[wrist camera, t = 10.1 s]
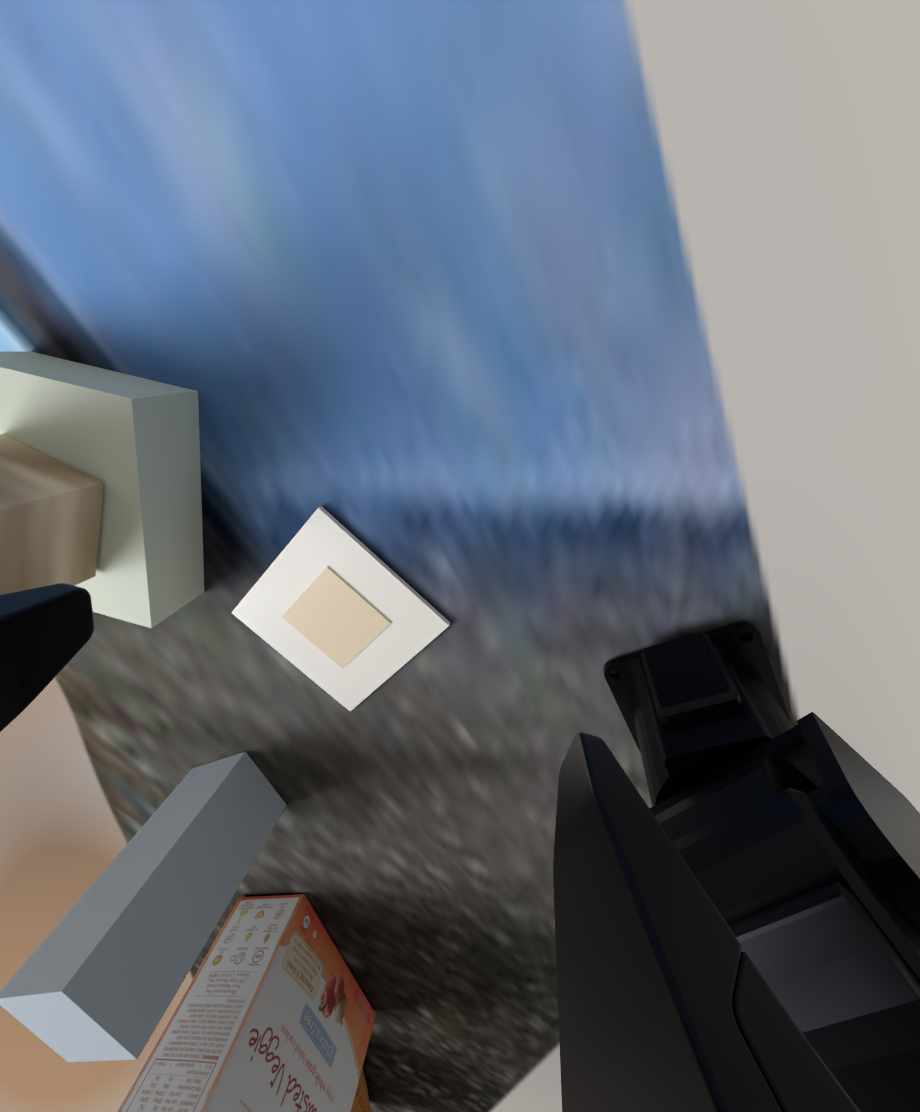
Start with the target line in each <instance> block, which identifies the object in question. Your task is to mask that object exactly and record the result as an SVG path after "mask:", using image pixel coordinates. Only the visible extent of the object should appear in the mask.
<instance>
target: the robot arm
mask: <svg viewBox="0 0 920 1112" xmlns="http://www.w3.org/2000/svg"><path fill="white" fill-rule="evenodd" d="M93 631H94V618H93V609H92V601H91V595H90V593H89V592H88V590H86V589H84V588H81V587H77V586H74V585H71V584H66V583H59V584H54V585H49V586H43V587H38V588H33V589H28V590H23V591H18V592H12V593H7V594H2V595H0V732H1V731H2V730H3V729H4V728H5V727H6V726H7V725H8V724H9V723H10V722H11V721H12V720H13V719H15V718H16V717H17V716H18V715H19V714H20V713H21V712H22V711H23V710H24V709H25V708H26V707H27V706H28V705H29V704H30V703H31V702H32V701H33V700H34V699H35V698H36V697H37V696H38V694H39V693H40V692H41V691H42V690H43V689H44V688H45V687H46V686H47V685H48V684H49V683H50V681H52V679H53V678H54V677H55V676H56V675H57V674H58V673H59V672H60V671H61V670H62V669H63V667H64V666H65V665H66V664H67V663H68V662H69V661H70V660H71V659H72V658H73V657H74V656H75V654H76V653H77V652H78V651H79V650H80V649H81V648H82V647H83V646H84V645H85V644H86V643H87V641H88V640H89V639H90V637H91V636H92V634H93ZM743 632H750V633H749V634H748V635H747V636H745V637H740V635H741V633H743ZM603 669H604V675H605V679H606V681H607V683H608V685H609V687H610V689H611V691H612V693H613V696H614V698H615V700H616V702H617V704H618V706H619V708H620V710H621V712H622V715H623V717H624V719H625V721H626V723H627V725H628V727H629V729H630V732H631V734H632V736H633V738H634V740H635V742H636V744H637V746H638V749H639V751H640V753H641V756H642V761H643V766H644V770H645V775H646V780H647V784H648V789H649V794H650V798H651V803H652V807H651V808H650V809H649V807H648V806H647V804H646V803H645V801H644V800H643V798H642V797H641V796H640V794H639V793H638V791H637V790H636V788H635V787H634V785H633V784H632V782H631V781H630V779H629V778H628V776H627V775H626V773H625V772H624V770H623V769H622V767H621V766H620V764H619V763H618V761H617V760H616V758H615V757H614V756H613V754H612V753H611V751H610V750H609V748H608V747H607V745H606V744H605V742H604V741H603V740H602V739H601V738H599V737H596V736H593V735H589V734H586V733H578V734H577V735H576V736H575V738H574V740H573V742H572V744H571V746H570V748H569V750H568V752H567V754H566V756H565V758H564V761H563V763H562V765H561V769H560V774H559V785H558V800H557V814H556V829H555V844H554V861H553V882H554V908H555V934H556V959H557V985H558V1011H559V1036H560V1061H561V1085H562V1112H920V813H919V812H918V811H917V810H916V809H915V808H914V806H913V805H912V804H911V803H910V802H909V801H908V799H907V798H906V797H905V796H904V795H903V794H902V793H900V792H899V791H898V790H897V789H896V788H895V787H894V786H893V785H892V784H891V783H890V782H888V781H887V780H886V779H885V778H884V777H883V776H882V775H881V774H880V773H879V772H878V771H877V770H875V769H874V768H873V767H872V766H871V765H870V764H869V763H868V762H867V761H866V760H865V759H863V758H862V757H861V756H860V755H859V754H858V753H857V752H856V751H855V750H854V749H853V748H851V747H850V746H849V745H848V744H847V743H846V742H845V741H843V739H842V738H841V737H840V736H838V735H837V734H836V733H835V732H834V731H833V730H832V729H831V728H830V727H829V726H828V725H826V724H825V723H824V722H823V721H822V720H821V719H820V718H819V717H818V716H817V715H815V714H814V713H813V712H812V713H810V714H808V715H806V716H804V717H803V718H801V719H799V720H797V723H798V725H796V726H795V727H793V726H792V724H791V722H790V719H789V716H788V714H787V711H786V708H785V705H784V702H783V699H782V696H781V694H780V691H779V688H778V685H777V682H776V679H775V676H774V673H773V671H772V668H771V665H770V662H769V659H768V656H767V653H766V651H765V648H764V645H763V642H762V639H761V636H760V633H759V632H758V630H757V629H756V627H755V626H754V625H753V624H752V623H750V622H745V621H744V622H738V623H735V624H731V625H728V626H725V627H721V628H718V629H715V630H711V631H708V632H705V633H697V634H693V635H690V636H686V637H683V638H680V639H676V640H673V641H670V642H666V643H663V644H660V645H656V646H653V647H650V648H646V649H644V650H643V651H641V652H637V653H634V654H631V655H627V656H624V657H620V658H617V659H614V660H611V661H609V662H607V663H606V664H605V665H604V668H603ZM612 670H619V671H620V672H619V673H617V674H613V673H611V671H612Z"/></svg>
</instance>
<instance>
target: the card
mask: <svg viewBox="0 0 920 1112" xmlns="http://www.w3.org/2000/svg"><path fill="white" fill-rule="evenodd" d="M232 614H233V615H235V616H236V617H237V618H238V619H239V620H241V621H242V622H243V623H244V624H245V625H247V626H248V627H249V628H250V629H251V630H253V631H254V632H255V633H256V634H257V635H259V636H260V637H261V638H262V639H263V640H265V641H266V642H267V643H268V644H269V645H271V646H272V647H273V648H274V649H275V650H277V651H278V652H279V653H280V654H281V655H283V656H284V657H285V658H286V659H288V660H289V661H290V662H291V663H292V664H294V665H295V666H296V667H297V668H298V669H300V670H301V671H302V672H303V673H304V674H306V675H307V676H308V677H309V678H310V679H312V680H313V681H314V682H315V683H316V684H318V685H319V686H320V687H321V688H322V689H324V690H325V691H326V692H327V693H328V694H330V695H331V696H332V697H333V698H334V699H336V700H337V701H338V702H339V703H340V704H342V705H343V706H344V707H345V708H346V709H348V710H349V711H351V710H353V709H354V708H355V707H356V706H357V705H358V704H360V703H361V702H362V701H363V700H364V699H365V698H367V697H368V696H369V695H370V694H371V693H372V692H373V691H375V690H376V689H377V688H378V687H379V686H380V685H382V684H383V683H384V682H385V681H386V680H387V679H388V678H390V677H391V676H392V675H393V674H394V673H395V672H397V671H398V670H399V669H400V668H401V667H402V666H403V665H405V664H406V663H407V662H408V661H409V660H410V659H412V658H413V657H414V656H415V655H416V654H417V653H418V652H420V651H421V650H422V649H423V648H424V647H425V646H427V645H428V644H429V643H430V642H431V641H432V640H433V639H435V638H436V637H437V636H438V635H439V634H440V633H442V632H443V631H444V630H445V629H446V628H447V627H449V625H450V622H449V621H448V620H447V619H446V618H445V617H444V616H443V615H442V614H440V613H439V612H438V611H437V610H436V609H435V608H434V607H433V606H432V605H430V604H429V603H428V602H427V601H426V600H425V599H424V598H423V597H422V596H420V595H419V594H418V593H417V592H416V591H415V590H414V589H413V588H412V587H411V586H409V585H408V584H407V583H406V582H405V581H404V580H403V579H402V578H401V577H399V576H398V575H397V574H396V573H395V572H394V571H393V570H392V569H391V568H389V567H388V566H387V565H386V564H385V563H384V562H383V561H382V560H381V559H380V558H378V557H377V556H376V555H375V554H374V553H373V552H372V551H371V550H370V549H368V548H367V547H366V546H365V545H364V544H363V543H362V542H361V541H360V540H358V539H357V538H356V537H355V536H354V535H353V534H352V533H351V532H350V531H349V530H347V529H346V528H345V527H344V526H343V525H342V524H341V523H340V522H339V521H337V520H336V519H335V518H334V517H333V516H332V515H331V514H330V513H329V512H327V511H326V510H325V509H324V508H323V507H322V506H320V507H319V508H318V509H317V510H316V511H315V512H314V514H313V515H312V516H311V517H310V518H309V520H308V521H307V522H306V523H305V524H304V526H303V527H302V528H301V529H300V531H299V532H298V533H297V534H296V535H295V537H294V538H293V539H292V540H291V541H290V543H289V544H288V545H287V546H286V547H285V549H284V550H283V551H282V552H281V553H280V555H279V556H278V557H277V558H276V559H275V561H274V562H273V563H272V564H271V566H270V567H269V568H268V569H267V570H266V572H265V573H264V574H263V575H262V576H261V578H260V579H259V580H258V581H257V582H256V584H255V585H254V586H253V587H252V588H251V590H250V591H249V592H248V593H247V595H246V596H245V597H244V598H243V599H242V601H241V602H240V603H239V604H238V605H237V607H236V608H235V609H234V610H233V611H232Z"/></svg>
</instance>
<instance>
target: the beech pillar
mask: <svg viewBox="0 0 920 1112" xmlns="http://www.w3.org/2000/svg"><path fill="white" fill-rule="evenodd" d="M103 485H104V483H103V482H101V481H99V480H97V479H95V478H93V477H91V476H88V475H86V474H84V473H82V472H80V471H78V470H76V469H74V468H72V467H70V466H68V465H66V464H64V463H62V462H60V461H58V460H56V459H54V458H52V457H50V456H47V455H45V454H43V453H41V452H39V451H37V450H35V449H33V448H31V447H29V446H27V445H25V444H23V443H21V442H19V441H17V440H15V439H13V438H11V437H8V436H6V435H4V434H0V595H2V594H7V593H12V592H18V591H23V590H28V589H33V588H38V587H43V586H49V585H54V584H59V583H66V584H71V585H74V586H75V585H77V584H79V583H82V582H84V581H86V580H88V579H90V578H93V577H95V576H96V565H97V554H98V542H99V531H100V519H101V508H102V496H103Z"/></svg>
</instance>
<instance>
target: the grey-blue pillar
mask: <svg viewBox="0 0 920 1112" xmlns="http://www.w3.org/2000/svg"><path fill="white" fill-rule="evenodd" d="M285 807H286V803H285V802H284V801H283V800H282V798H281V797H280V796H279V794H278V793H277V792H276V790H275V789H274V788H273V787H272V785H271V784H270V783H269V781H268V780H267V779H266V778H265V776H264V775H263V774H262V772H261V771H260V770H259V768H258V767H257V766H256V765H255V763H254V762H253V761H252V759H251V758H250V757H249V755H248V754H247V753H246V752H243V753H239V754H236V755H233V756H230V757H227V758H223V759H220V760H217V761H214V762H211V763H207V764H204V765H201V766H198V767H195V768H193V769H192V770H191V771H190V772H189V773H188V774H187V776H186V777H185V778H184V779H183V780H182V781H181V782H180V784H179V785H178V786H177V787H176V788H175V789H174V791H173V792H172V793H171V794H170V795H169V796H168V798H167V799H166V800H165V801H164V802H163V803H162V805H161V806H160V807H159V808H158V809H157V810H156V811H155V813H154V814H153V815H152V816H151V817H150V818H149V820H148V821H147V822H146V823H145V824H144V825H143V827H142V828H141V829H140V830H139V831H138V832H137V833H136V835H135V836H134V837H133V838H132V839H131V840H130V842H129V843H128V844H127V845H126V846H125V848H124V849H123V850H122V851H121V852H120V853H119V854H118V856H117V857H116V858H115V859H114V860H113V861H112V862H111V864H110V865H109V866H108V867H107V868H106V869H105V871H104V872H103V873H102V874H101V875H100V876H99V878H98V879H97V880H96V881H95V882H94V883H93V884H92V886H91V887H90V888H89V889H88V890H87V891H86V893H85V894H84V895H83V896H82V897H81V898H80V900H79V901H78V902H77V903H76V904H75V905H74V906H73V908H72V909H71V910H70V911H69V912H68V913H67V915H66V916H65V917H64V918H63V919H62V921H61V922H60V923H59V924H58V925H57V926H56V928H54V930H53V931H52V932H51V933H50V934H49V936H48V937H47V938H46V939H45V940H44V941H43V942H42V944H41V945H40V946H39V947H38V948H37V949H36V950H35V952H34V953H33V954H32V955H31V957H29V959H28V960H27V961H26V962H25V963H24V964H23V966H22V967H21V968H20V969H19V970H18V971H17V973H16V974H15V975H14V976H13V977H12V978H11V980H10V981H9V982H8V983H7V984H6V985H5V987H4V988H3V989H2V990H1V991H0V1005H1V1006H2V1007H3V1008H5V1009H6V1010H7V1011H8V1012H9V1013H10V1014H12V1015H13V1016H14V1017H15V1018H16V1019H17V1020H19V1021H20V1022H21V1023H22V1024H23V1025H25V1026H26V1027H27V1028H28V1029H29V1030H31V1031H32V1032H33V1033H34V1034H35V1035H36V1036H38V1037H39V1038H40V1039H41V1040H42V1041H44V1042H45V1043H46V1044H47V1045H48V1046H49V1047H51V1048H52V1049H53V1050H54V1051H55V1052H57V1053H58V1054H59V1055H60V1056H61V1057H63V1058H64V1059H65V1060H66V1061H67V1062H82V1061H110V1060H135V1059H138V1057H139V1055H140V1054H141V1052H142V1050H143V1049H144V1047H145V1045H146V1043H147V1042H148V1040H149V1038H150V1037H151V1035H152V1033H153V1032H154V1030H155V1028H156V1026H157V1025H158V1023H159V1021H160V1020H161V1018H162V1016H163V1015H164V1013H165V1011H166V1009H167V1008H168V1006H169V1004H170V1003H171V1001H172V999H173V998H174V996H175V994H176V993H177V991H178V989H179V987H180V986H181V983H182V982H183V981H184V979H185V977H186V975H187V974H188V972H189V970H190V969H191V967H192V965H193V964H194V962H195V960H196V958H197V957H198V955H199V953H200V952H201V950H202V948H203V947H204V945H205V943H206V941H207V940H208V938H209V936H210V935H211V933H212V931H213V930H214V928H215V926H216V924H217V923H218V921H219V919H220V918H221V916H222V914H223V913H224V911H225V909H226V907H227V906H228V904H229V902H230V901H231V899H232V897H233V896H234V894H235V892H236V890H237V889H238V887H239V885H240V884H241V882H242V880H243V878H244V877H245V875H246V873H247V872H248V870H249V868H250V867H251V865H252V863H253V861H254V860H255V858H256V856H257V855H258V853H259V851H260V850H261V848H262V846H263V844H264V843H265V841H266V839H267V838H268V836H269V834H270V833H271V831H272V829H273V827H274V826H275V824H276V822H277V821H278V819H279V817H280V816H281V814H282V812H283V810H284V809H285Z"/></svg>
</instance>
